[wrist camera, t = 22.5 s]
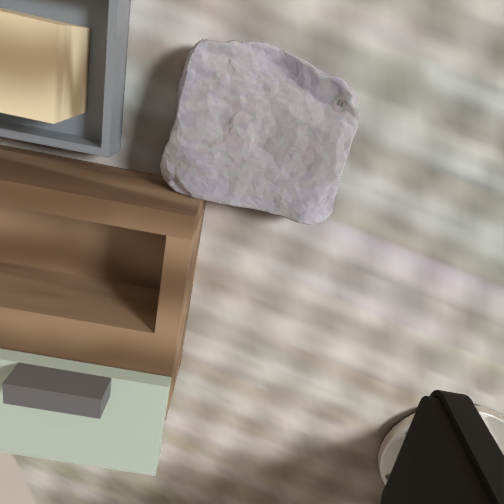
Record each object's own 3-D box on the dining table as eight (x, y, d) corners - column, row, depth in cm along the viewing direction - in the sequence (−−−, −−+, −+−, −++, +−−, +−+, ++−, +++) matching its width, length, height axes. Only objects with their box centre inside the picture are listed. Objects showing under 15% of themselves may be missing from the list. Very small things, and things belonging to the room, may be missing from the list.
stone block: (189, 35, 29) (161, 185, 32) (182, 15, 25) (150, 192, 27) (359, 80, 31) (321, 221, 33) (384, 69, 26) (337, 234, 28)
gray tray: (120, 149, 31) (108, 157, 28) (-20, 122, 30) (-43, 128, 28) (131, -6, 27) (118, -11, 25) (-29, -41, 26) (-57, -49, 24)
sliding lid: (158, 464, 34) (149, 501, 31) (-24, 436, 33) (-49, 470, 30) (171, 377, 30) (162, 409, 28) (-32, 343, 30) (-62, 373, 27)
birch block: (86, 111, 29) (53, 123, 25) (8, 95, 29) (-39, 104, 24) (90, 28, 27) (56, 24, 23) (7, 9, 27) (-45, 1, 22)
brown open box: (180, 364, 38) (164, 422, 32) (1, 333, 37) (-48, 387, 31) (208, 185, 32) (195, 216, 26) (-8, 143, 31) (-73, 165, 25)
